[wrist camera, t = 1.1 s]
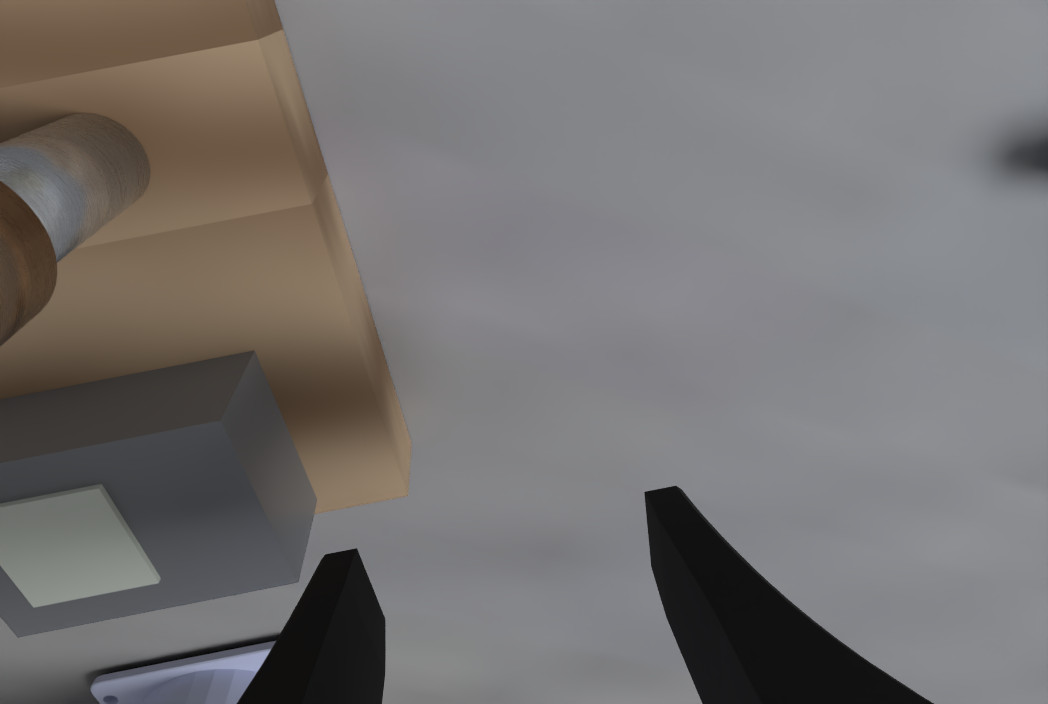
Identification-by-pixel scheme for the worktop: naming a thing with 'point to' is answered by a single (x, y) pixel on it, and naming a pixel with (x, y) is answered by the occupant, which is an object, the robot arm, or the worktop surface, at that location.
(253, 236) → the board
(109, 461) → the block
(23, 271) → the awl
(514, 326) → the worktop surface
